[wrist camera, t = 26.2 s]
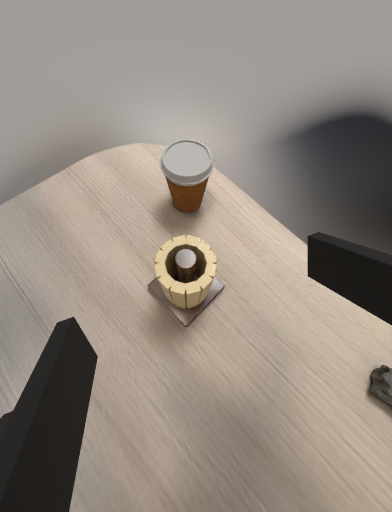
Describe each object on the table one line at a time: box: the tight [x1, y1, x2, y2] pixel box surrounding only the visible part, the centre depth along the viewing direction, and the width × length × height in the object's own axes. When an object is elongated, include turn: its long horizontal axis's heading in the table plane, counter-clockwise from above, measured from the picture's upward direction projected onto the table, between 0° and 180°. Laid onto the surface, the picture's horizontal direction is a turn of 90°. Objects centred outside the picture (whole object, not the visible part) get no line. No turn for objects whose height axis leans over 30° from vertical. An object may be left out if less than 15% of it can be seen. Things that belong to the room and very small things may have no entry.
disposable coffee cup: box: [160, 139, 214, 212], centre depth 42 cm, size 10×10×12 cm
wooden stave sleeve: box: [154, 235, 217, 309], centre depth 33 cm, size 8×8×12 cm
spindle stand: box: [147, 249, 225, 327], centre depth 33 cm, size 10×10×15 cm
